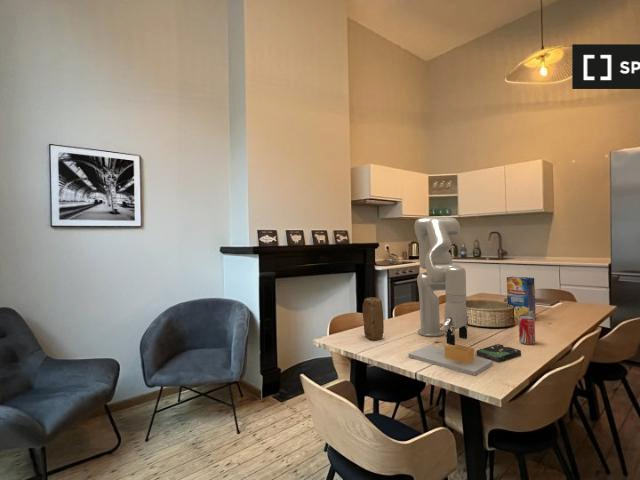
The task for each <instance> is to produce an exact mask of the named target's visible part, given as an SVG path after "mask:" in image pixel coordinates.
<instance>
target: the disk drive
mask: <svg viewBox="0 0 640 480" xmlns="http://www.w3.org/2000/svg"><path fill="white" fill-rule="evenodd" d="M475 353H476V357H479V358H483V359H487V360H491V361H493V362H496V363H499V364H500V363H502V362H506V361H509V360H512V359H515V358H517V357H520V356H522V350H521V349H517V348H514V347H510V346H504V345H503V344H499V343H498V344H496V343H495V344H494V345H490V346H487V347H483V348H480V349H477V350H476V352H475Z"/></svg>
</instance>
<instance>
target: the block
mask: <svg viewBox="0 0 640 480" xmlns="http://www.w3.org/2000/svg"><path fill="white" fill-rule="evenodd" d="M382 302H383V301H382V299H381V298H379V297H374V296H373V297H370V296H369V297H366V298H364V300H363V303H362V319H363V320H362V321H363V331H364V335H365V337H366V338H367V339H369V340H372V341H378V340H381V339H382V338H383V337H384V330H385V327H384V326H385V324H384V323H385V322H384V311H383V310H384V308H383V303H382Z"/></svg>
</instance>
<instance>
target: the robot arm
mask: <svg viewBox="0 0 640 480" xmlns="http://www.w3.org/2000/svg"><path fill="white" fill-rule="evenodd" d="M460 226H461V225H460V223H459V221H458V220H457V219H456V218H455V217H450V216H439V217H433V216H432V217H429V216H428V217H420V218H417V219H416V220H415V222H414V226H413V227H414V233H415V235H416V239H417V242H418V254H419V255H418V258H419V259H418V260H419V266H420V268H421V269H423V270H426V272H421V273H419V274H418V275H417V279H416V281H417V287H418V288H417V289H418V293H419V294H418V295H419V318H420V329H418V330H417V334H418V335H420V336H424V337H429V338H430V337H431V338H433V337H436V338H437V337H441V336H443V335H444V332H445V335H446V339H445V340H446V344H447V345H449V344H450V345H455V344H456V336H455V332H456V330H457V329H458V337H459V338H460V339H463V340H467V339H468V327H469V326H468V323H469V315H468V310H467V275H466V274H467V272H466V269H465V268H464V267H462V266H461V265H460V264H457V263H455V264H454V263H453V257H452V254H451V253H450V252H449V251H450V250H451V249H452V247H453V246H452V242H451V239H450V237H456V236H458V235H460V231H461V227H460ZM435 291H445V306H444V315H443V316H444V317H443V318H444V321H443V322H441V318H440V317H441V315H440V299H439V297H438V296H437V294H436V293H435ZM442 327H444V331H443V330H441V328H442Z"/></svg>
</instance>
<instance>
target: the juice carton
mask: <svg viewBox="0 0 640 480" xmlns="http://www.w3.org/2000/svg"><path fill="white" fill-rule="evenodd" d="M535 288H536V287H535V277H528V276H525V277H524V276H514V275H513V276H507V277H506V297H507V298H506V300H507V305H508V304H509V305H512V306H513V307H514V314H515V319H514V320H517V321H519V317H520V316H531V317H533V319H534V321H536V319H537V317H536V293H535V292H536V289H535Z"/></svg>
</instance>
